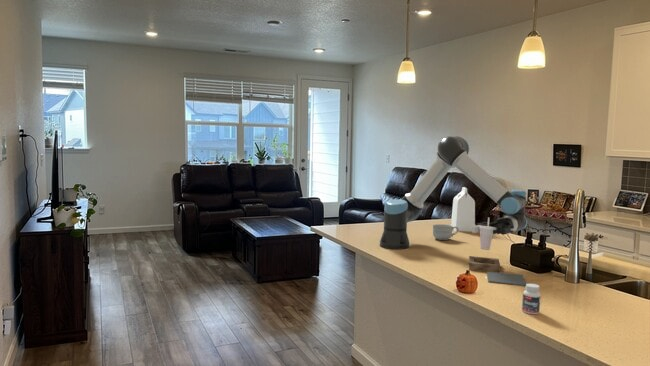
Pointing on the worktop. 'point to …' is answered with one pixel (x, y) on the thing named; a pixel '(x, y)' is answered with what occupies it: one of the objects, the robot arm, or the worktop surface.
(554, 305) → the worktop surface
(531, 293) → the pill bottle
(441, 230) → the teacup
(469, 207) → the milk
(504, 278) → the mat
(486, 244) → the smoothie
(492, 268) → the wooden tray
